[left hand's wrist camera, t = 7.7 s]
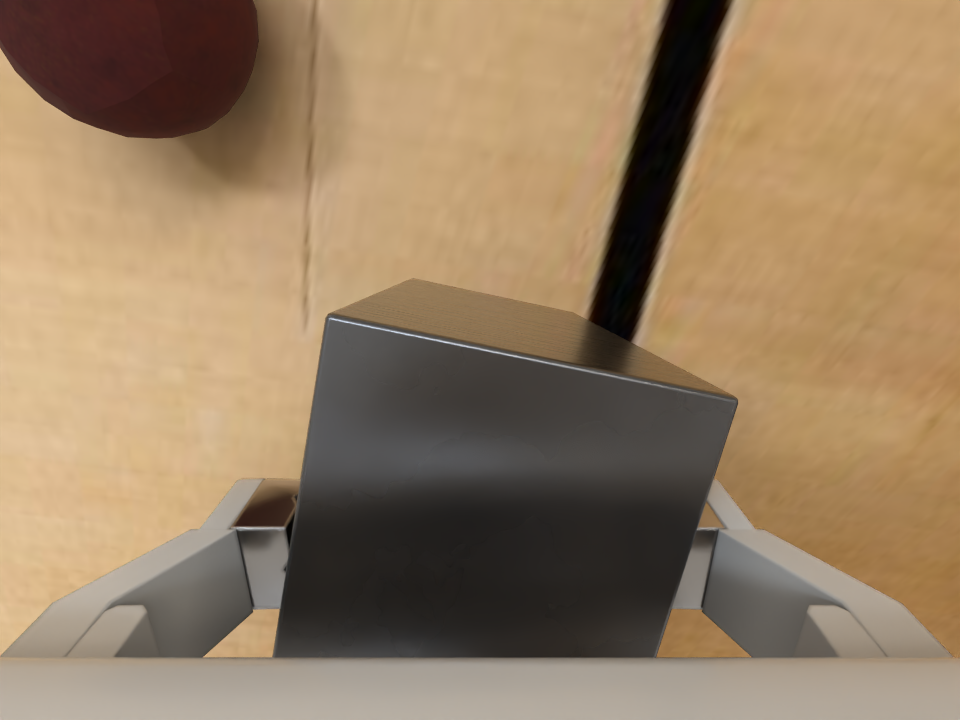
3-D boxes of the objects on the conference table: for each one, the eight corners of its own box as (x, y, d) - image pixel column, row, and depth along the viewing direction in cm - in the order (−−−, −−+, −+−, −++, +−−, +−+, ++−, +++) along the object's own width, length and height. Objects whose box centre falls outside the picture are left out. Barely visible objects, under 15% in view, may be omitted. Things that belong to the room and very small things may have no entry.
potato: (158, 170, 21) (13, 172, 14) (39, -45, 18) (-203, -162, 12) (319, 102, 20) (243, 71, 14) (218, -134, 18) (64, -312, 11)
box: (411, 277, 18) (324, 312, 7) (574, 312, 19) (742, 398, 7) (313, 802, 23) (163, 1343, 11) (447, 821, 23) (430, 1360, 12)
